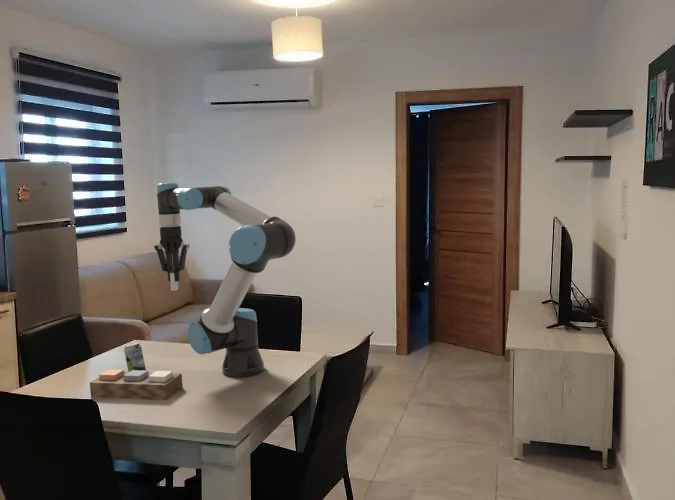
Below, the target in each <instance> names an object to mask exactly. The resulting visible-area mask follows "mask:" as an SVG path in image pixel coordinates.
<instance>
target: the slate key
mask: <svg viewBox="0 0 675 500" xmlns="http://www.w3.org/2000/svg"><path fill="white" fill-rule="evenodd" d="M148 373H149V370H147V369H146V370H132V371H130V372H129V373H127V374H125V375H123V376H124V381H142V380H143V379H145V378H146V377H148V376H149V375H148Z"/></svg>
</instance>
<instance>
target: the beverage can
mask: <svg viewBox="0 0 675 500" xmlns="http://www.w3.org/2000/svg"><path fill="white" fill-rule="evenodd" d="M123 353H124V357H125V361H126V367H127V372H130V371H132V370H146V371H147V369H146V364H145V358H144V353H143V350H142V345H140V343H139V342H133V343H128V344H126V345H125V346H124V349H123Z"/></svg>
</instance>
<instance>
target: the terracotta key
mask: <svg viewBox="0 0 675 500" xmlns="http://www.w3.org/2000/svg"><path fill="white" fill-rule="evenodd" d="M124 372H125V369H107V370H105V371H103V372H101V373H100V374H98V378H99V380H117V379H119V378H121V377H122V376H123V375H124Z"/></svg>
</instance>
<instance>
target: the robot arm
mask: <svg viewBox="0 0 675 500" xmlns="http://www.w3.org/2000/svg"><path fill="white" fill-rule="evenodd" d="M156 198H157V209H158V225H159V226H160V227H159V236H160V240H159V243H158V244H155V245H154V249H155V251H156V252H157V257H158V259H159V263H160V266H161V270H162V271H163V272H166V274H167V281H168V282H170V291H172V292H175V291H178V290H179V281H180V280H181V279H180V272H181V271H182V272H183V271H184V270H185V266H186V258H187V253H188V249H189V248H190V245H189V243H188V244H186V243H185V242H184V240H183V238H182V226H181V223H182V222H181V210H185V211H193V210H197V209H214V210H215V211H217V212H219V213H220V214H222V215H223V216H225V217H227V218H229V219H230V220H233V221H234V222H236V224H238V225H240V227H238V228H237V229H236V230H234V231H233V232H232V233H231V236H230V239H229V240H228V241H229V242H228V246H229V247H228V250H229V254H230V260H231V261H232V262H231V264H230V266H229V268H228V270H227V272H226V274H225V276H224V278H223V280H222V282H221V285H220V287H219V289H218V291H217V293H216V295H215V297H214V299H213V301H212V303H211V305H210V307H208V308H206V309H204V311H202V313H201V315H200V317H199V319H198V320H197V321H196V320H194V321H192V322H190V323H189V325H188V327H187V333H186V334H187V338H188V342H189V345H190V347H191V348H192V350H193V351H195V352H196V353H197V354H198V355H207V354H212V353H215V352H218V351H222V350H223V349H225V355H224V358H223V362H222V366H221V369H222V374H223V375H225V376H227V377H233V378H239V377H240V378H241V377H242V378H243V377H251V376H255V375H259V374H261V373H263V371H264V370H265V364H264V360H263V357H262V355H261V353H260V350H259V338H258V319H257V312H256V311H255V310H254V309H251V308H245V307H244V308H243V307H240V306H241V304H242V302H243V300H244V298H245V296H246V294H247V293H248V290H249V289H250V287H251V285H252V283H253V281H254V280H255V277H256V276H257V274H261V273H262V272H263V271H264V270H265V268H266V267H267V264H268V263H269V261H271V260H276V259H281V258H285V257H286V256H288V255H289V254H290V253H291V252H292V251H293V250H294V248H295V246H296V242H297V241H296V240H297V238H296V232H295V231H294V228H293V227H292V226H291V225H290V224H289V223H288V222H287V221H285V220H284V219H282V218H280V217H278V216H270V215H268V214H266V213H265V212H263V211H261V210H260V209H257V208H255V207H254V206H252V205H250V204H249V203H246V202H245V201H243V200H241V199H239V198H237V197H236V196H234V195H232V192H231V191H230V189H229V188H228V187H227V186H222V185H221V186H220V185H216V186H203V187H202V186H198V187H183V188H182V187H180V188H179V184H178V183H177V182H164V183H163V182H161V183H158V184H157V186H156ZM180 248H181V250H180ZM163 249H164V250H163ZM179 255H180V256H179Z"/></svg>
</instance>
